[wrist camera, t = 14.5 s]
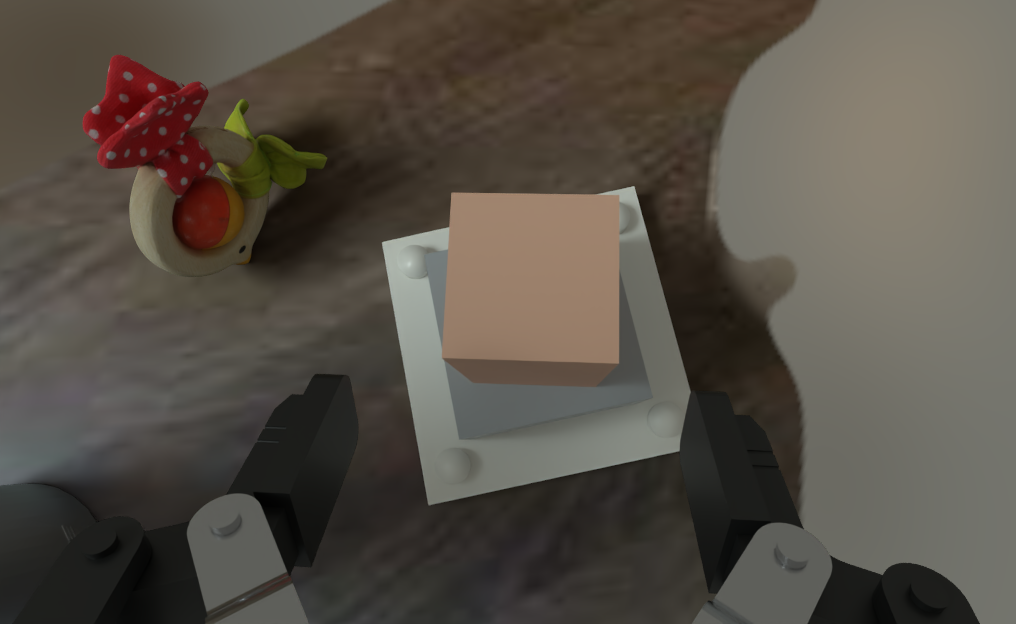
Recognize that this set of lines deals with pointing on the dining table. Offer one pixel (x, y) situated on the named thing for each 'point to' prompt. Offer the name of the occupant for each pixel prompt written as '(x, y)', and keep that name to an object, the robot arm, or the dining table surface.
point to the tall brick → (532, 288)
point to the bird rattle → (189, 170)
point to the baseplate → (549, 441)
